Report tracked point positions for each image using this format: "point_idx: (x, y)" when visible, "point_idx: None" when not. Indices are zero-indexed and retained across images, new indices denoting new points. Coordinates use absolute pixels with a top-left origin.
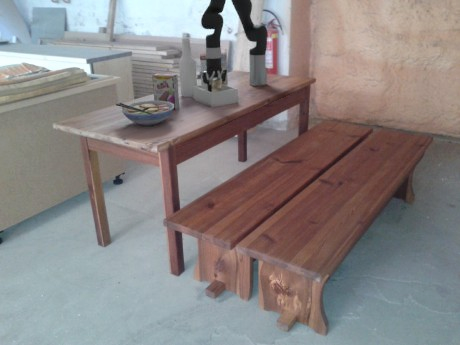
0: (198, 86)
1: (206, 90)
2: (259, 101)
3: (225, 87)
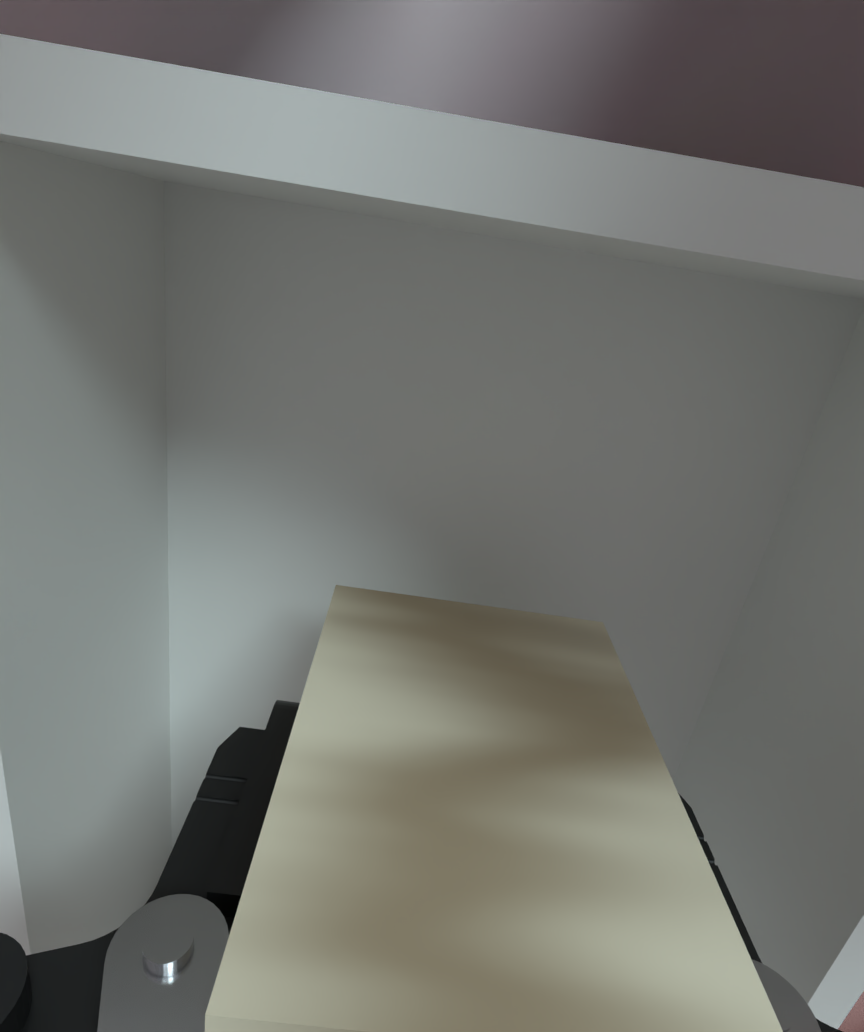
0: (141, 158)
1: (26, 939)
2: (861, 1017)
3: (848, 815)
